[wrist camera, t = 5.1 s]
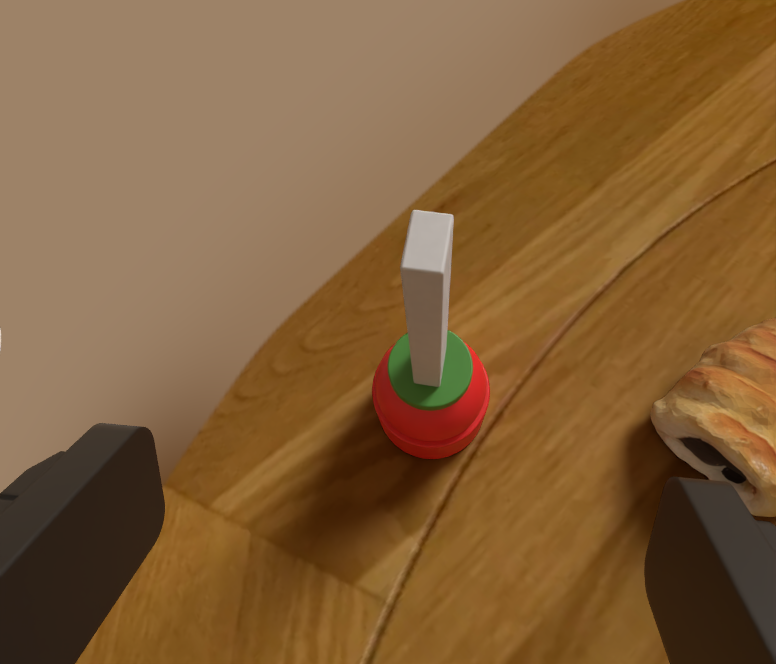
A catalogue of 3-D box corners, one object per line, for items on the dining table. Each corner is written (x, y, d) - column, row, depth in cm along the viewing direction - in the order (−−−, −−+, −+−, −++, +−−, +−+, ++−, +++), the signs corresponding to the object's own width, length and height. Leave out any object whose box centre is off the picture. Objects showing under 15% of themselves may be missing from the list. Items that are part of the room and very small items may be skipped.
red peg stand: (369, 449, 27) (295, 325, 13) (388, 348, 29) (344, 140, 14) (476, 468, 26) (527, 360, 12) (490, 364, 28) (549, 161, 14)
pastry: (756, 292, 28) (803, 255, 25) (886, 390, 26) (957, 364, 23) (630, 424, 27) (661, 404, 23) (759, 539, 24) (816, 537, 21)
